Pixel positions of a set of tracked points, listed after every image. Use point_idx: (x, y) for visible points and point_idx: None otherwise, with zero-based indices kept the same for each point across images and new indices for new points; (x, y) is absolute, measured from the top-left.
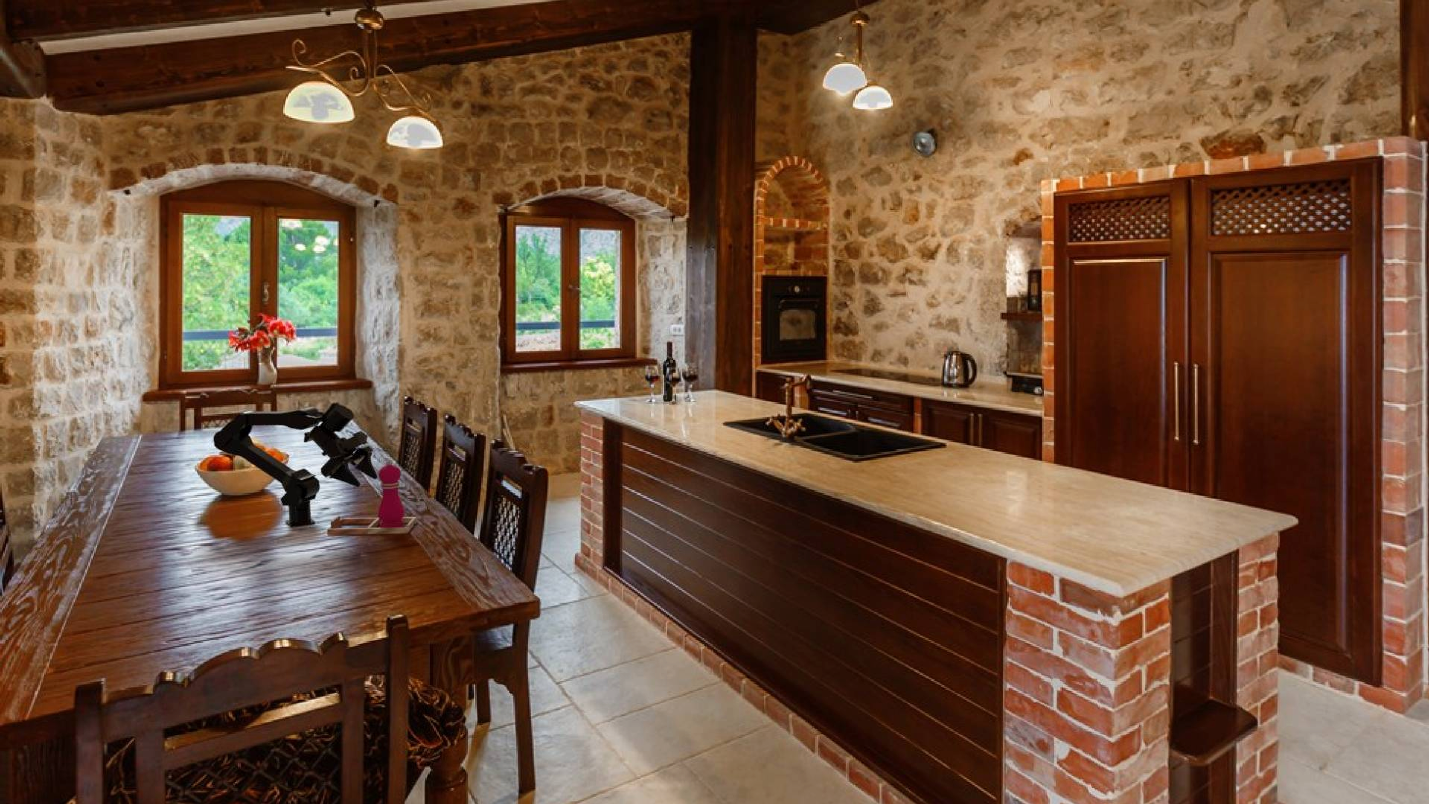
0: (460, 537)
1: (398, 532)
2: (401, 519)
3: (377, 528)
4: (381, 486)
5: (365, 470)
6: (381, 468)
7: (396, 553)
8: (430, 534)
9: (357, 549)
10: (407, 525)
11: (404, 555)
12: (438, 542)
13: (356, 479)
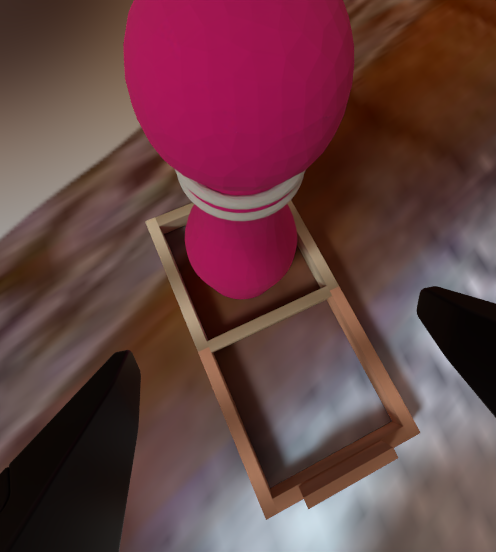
0: None
1: None
2: (175, 265)
3: (319, 255)
4: (291, 191)
5: (98, 545)
6: (323, 48)
7: (428, 101)
8: None
9: (462, 211)
10: None
11: (428, 77)
12: None
13: (487, 307)
